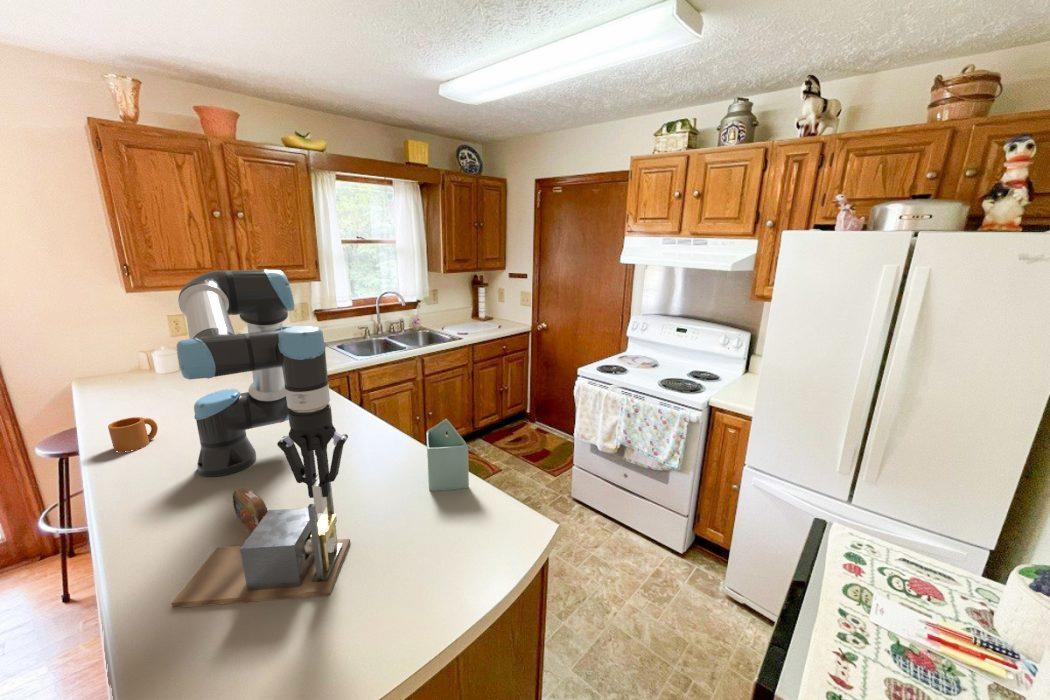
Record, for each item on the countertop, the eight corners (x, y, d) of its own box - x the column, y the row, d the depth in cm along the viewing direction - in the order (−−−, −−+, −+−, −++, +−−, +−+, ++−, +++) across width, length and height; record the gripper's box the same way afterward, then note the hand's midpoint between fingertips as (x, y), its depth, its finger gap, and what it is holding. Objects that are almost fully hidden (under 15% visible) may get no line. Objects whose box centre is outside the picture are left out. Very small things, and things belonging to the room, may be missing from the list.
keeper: (314, 572, 86) (310, 536, 84) (325, 548, 93) (321, 515, 91) (329, 570, 87) (325, 535, 84) (339, 547, 93) (336, 514, 91)
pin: (246, 573, 85) (242, 548, 83) (261, 552, 91) (257, 528, 89) (329, 567, 87) (326, 543, 85) (338, 546, 93) (335, 524, 91)
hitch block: (247, 590, 82) (233, 514, 78) (274, 548, 94) (264, 479, 89) (326, 584, 84) (316, 509, 80) (343, 543, 96) (336, 475, 91)
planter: (410, 481, 123) (406, 420, 118) (429, 470, 130) (427, 412, 125) (450, 500, 115) (448, 435, 110) (469, 487, 121) (468, 425, 116)
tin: (234, 515, 107) (228, 486, 105) (247, 509, 109) (242, 481, 107) (259, 540, 98) (254, 509, 96) (273, 533, 101) (268, 503, 98)
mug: (164, 442, 143) (159, 418, 141) (117, 456, 134) (110, 431, 132) (157, 434, 149) (152, 411, 146) (111, 447, 139) (105, 423, 137)
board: (172, 608, 80) (171, 602, 79) (217, 552, 94) (217, 547, 94) (329, 595, 83) (328, 590, 83) (350, 543, 98) (349, 538, 97)
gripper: (264, 414, 76) (280, 522, 82) (338, 412, 78) (348, 519, 84) (282, 399, 83) (295, 499, 90) (349, 397, 85) (358, 497, 91)
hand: (321, 509), depth 87 cm, fingers closed
